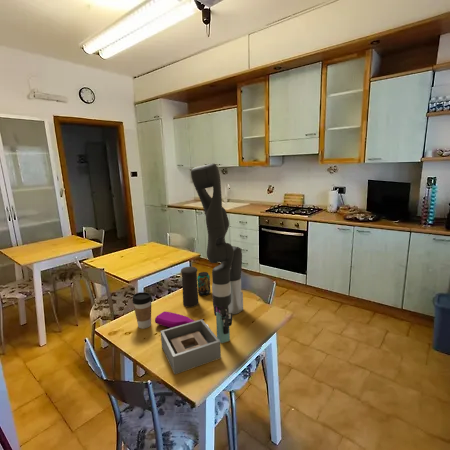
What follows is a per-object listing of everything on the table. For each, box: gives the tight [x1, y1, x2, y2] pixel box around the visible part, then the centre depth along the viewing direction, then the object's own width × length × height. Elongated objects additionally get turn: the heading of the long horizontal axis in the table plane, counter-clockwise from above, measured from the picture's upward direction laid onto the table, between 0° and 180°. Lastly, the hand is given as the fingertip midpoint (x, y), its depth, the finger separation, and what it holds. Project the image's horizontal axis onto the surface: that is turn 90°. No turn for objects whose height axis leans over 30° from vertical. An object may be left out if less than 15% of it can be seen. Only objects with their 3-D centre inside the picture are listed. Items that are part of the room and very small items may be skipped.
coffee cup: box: [132, 291, 152, 330], centre depth 128 cm, size 8×8×15 cm
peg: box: [215, 312, 231, 344], centre depth 116 cm, size 4×4×12 cm
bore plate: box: [170, 331, 208, 354], centre depth 109 cm, size 12×12×3 cm
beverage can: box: [197, 271, 211, 296], centre depth 160 cm, size 7×7×12 cm
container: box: [180, 266, 200, 308], centre depth 147 cm, size 9×9×20 cm
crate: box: [160, 318, 222, 375], centre depth 109 cm, size 18×18×7 cm
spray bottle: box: [154, 311, 210, 328], centre depth 128 cm, size 3×11×24 cm
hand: (223, 329), depth 116 cm, fingers open, 5 cm apart
